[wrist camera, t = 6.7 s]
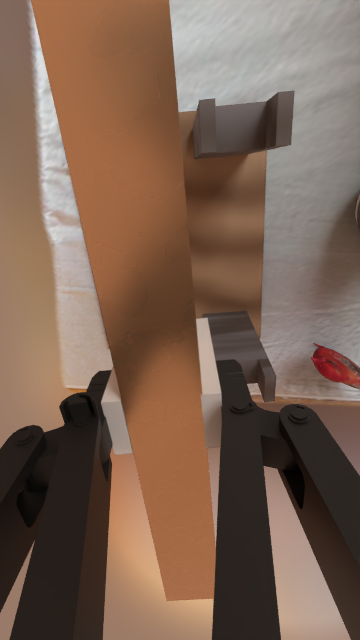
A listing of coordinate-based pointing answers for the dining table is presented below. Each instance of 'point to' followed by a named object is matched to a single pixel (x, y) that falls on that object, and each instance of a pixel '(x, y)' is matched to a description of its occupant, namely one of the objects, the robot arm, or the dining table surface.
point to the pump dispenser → (358, 212)
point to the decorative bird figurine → (336, 367)
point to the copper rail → (139, 254)
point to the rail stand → (232, 221)
